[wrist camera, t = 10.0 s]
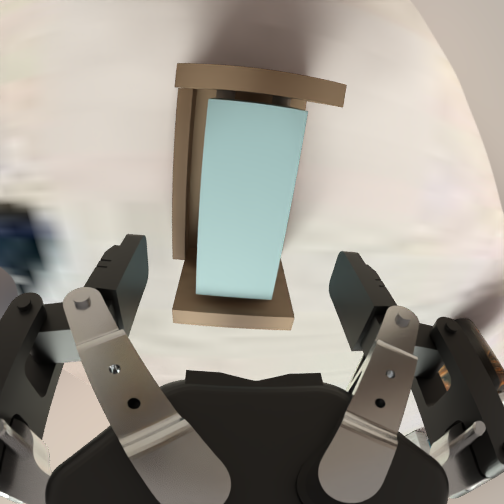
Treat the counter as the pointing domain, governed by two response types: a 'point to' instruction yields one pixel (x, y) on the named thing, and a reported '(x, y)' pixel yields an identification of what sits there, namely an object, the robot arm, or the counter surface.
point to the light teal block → (246, 195)
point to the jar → (497, 374)
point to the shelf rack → (189, 183)
